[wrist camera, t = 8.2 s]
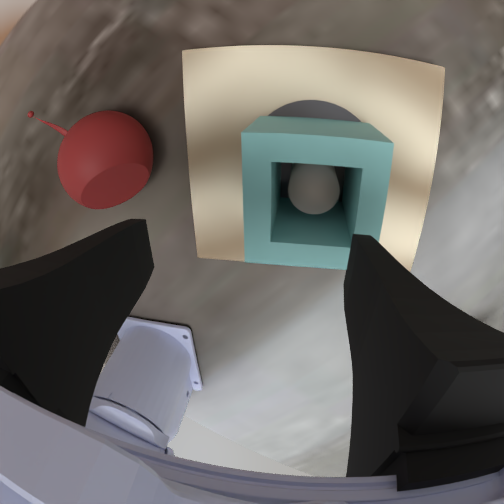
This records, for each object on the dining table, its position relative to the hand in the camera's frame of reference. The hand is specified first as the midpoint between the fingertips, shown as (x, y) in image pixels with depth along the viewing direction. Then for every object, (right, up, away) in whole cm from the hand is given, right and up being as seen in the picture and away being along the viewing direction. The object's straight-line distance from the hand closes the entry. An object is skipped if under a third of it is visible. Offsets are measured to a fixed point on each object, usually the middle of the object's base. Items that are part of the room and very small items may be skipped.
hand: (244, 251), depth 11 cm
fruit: (-9, +8, +8) cm, 15 cm away
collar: (+3, +4, +5) cm, 8 cm away
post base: (+4, +5, +7) cm, 10 cm away
